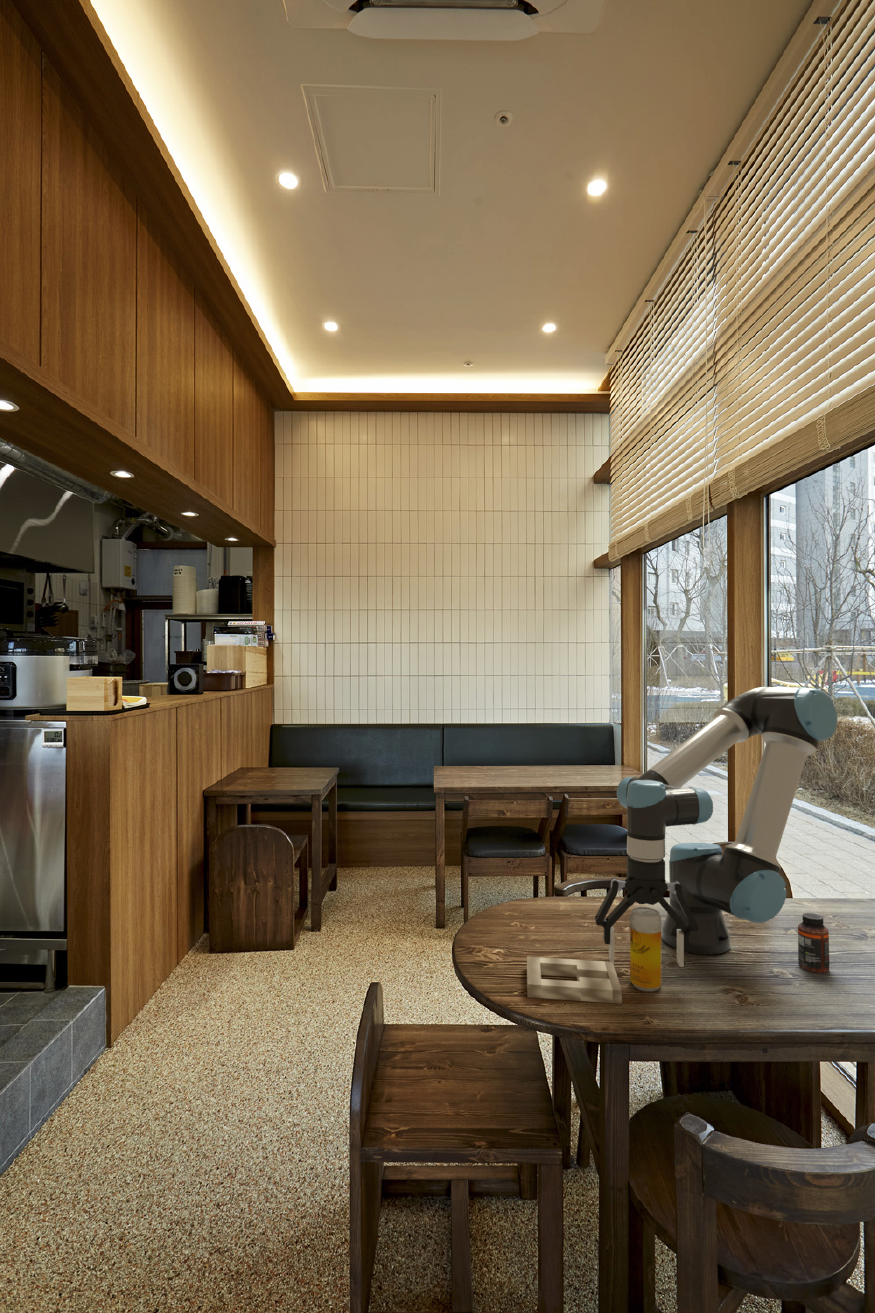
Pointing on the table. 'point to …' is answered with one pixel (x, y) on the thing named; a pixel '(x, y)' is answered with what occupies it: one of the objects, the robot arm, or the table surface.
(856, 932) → the table surface
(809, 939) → the supplement bottle
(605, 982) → the keyhole plate
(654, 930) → the beer can
